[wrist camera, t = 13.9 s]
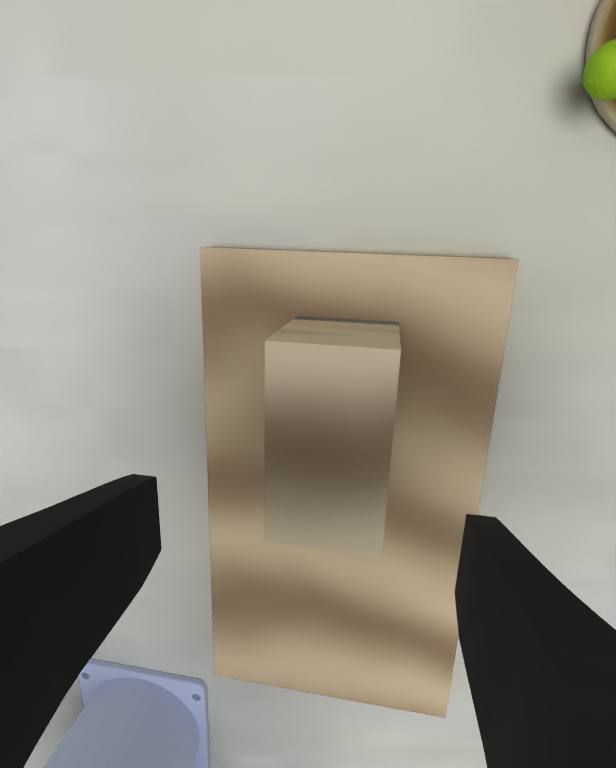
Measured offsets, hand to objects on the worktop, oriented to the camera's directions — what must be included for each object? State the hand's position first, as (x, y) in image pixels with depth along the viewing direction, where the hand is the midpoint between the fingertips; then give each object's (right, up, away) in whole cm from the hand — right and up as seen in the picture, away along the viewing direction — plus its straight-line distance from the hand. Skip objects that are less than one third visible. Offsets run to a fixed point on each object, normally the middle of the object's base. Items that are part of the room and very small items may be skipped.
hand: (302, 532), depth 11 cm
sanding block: (+2, +3, +9) cm, 9 cm away
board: (+2, -2, +11) cm, 12 cm away
